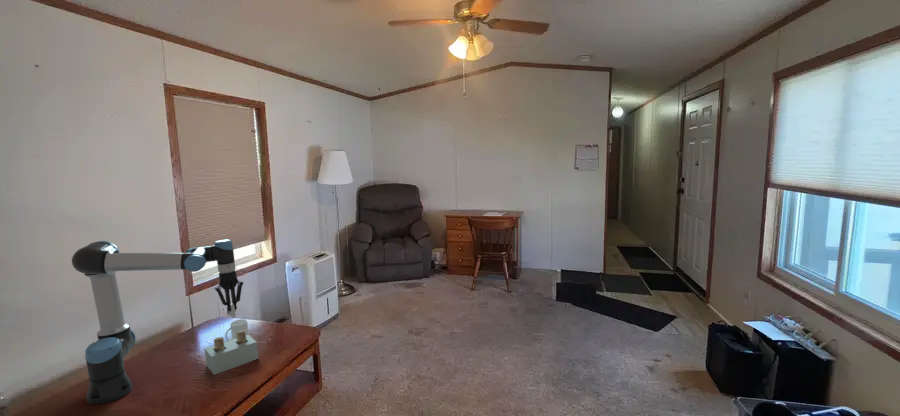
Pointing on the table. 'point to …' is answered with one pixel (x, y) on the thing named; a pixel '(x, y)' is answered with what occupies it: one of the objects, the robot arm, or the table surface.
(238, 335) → the peg far
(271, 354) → the table surface
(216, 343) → the peg near
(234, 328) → the mug
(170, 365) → the table surface
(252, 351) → the socket block
